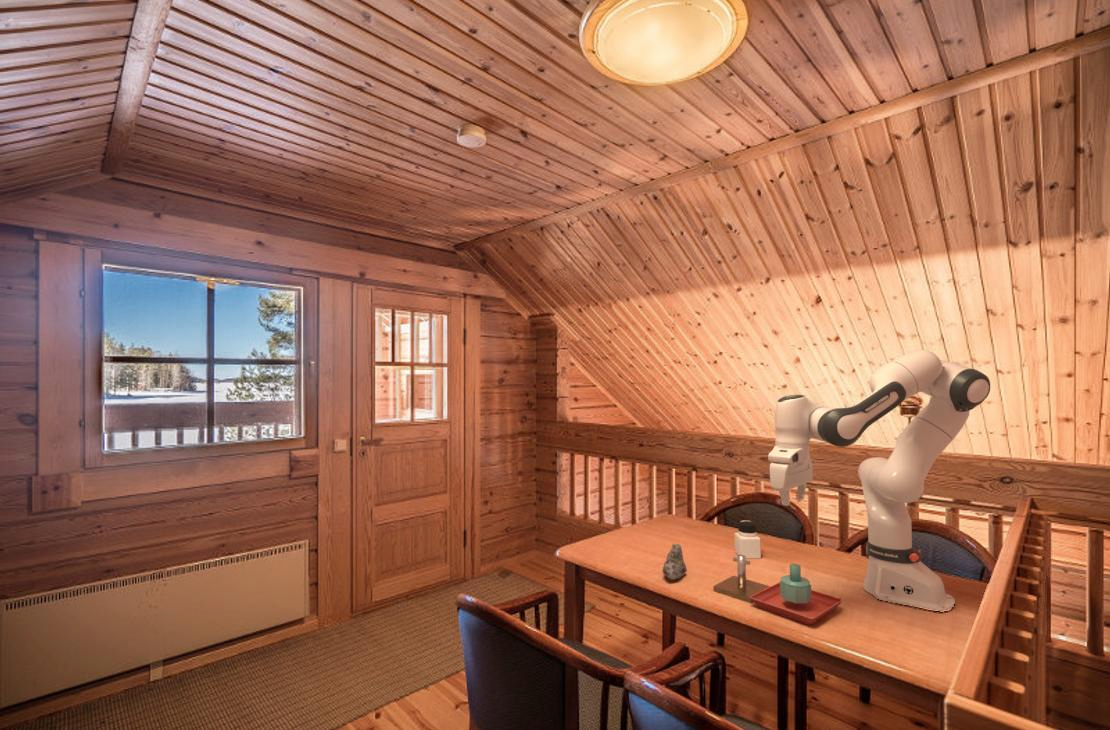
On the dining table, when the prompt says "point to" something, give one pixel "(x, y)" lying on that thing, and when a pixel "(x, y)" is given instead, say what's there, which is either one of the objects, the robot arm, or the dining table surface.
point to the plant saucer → (796, 605)
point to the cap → (795, 586)
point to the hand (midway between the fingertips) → (793, 502)
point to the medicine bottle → (747, 540)
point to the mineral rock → (674, 563)
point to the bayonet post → (739, 583)
